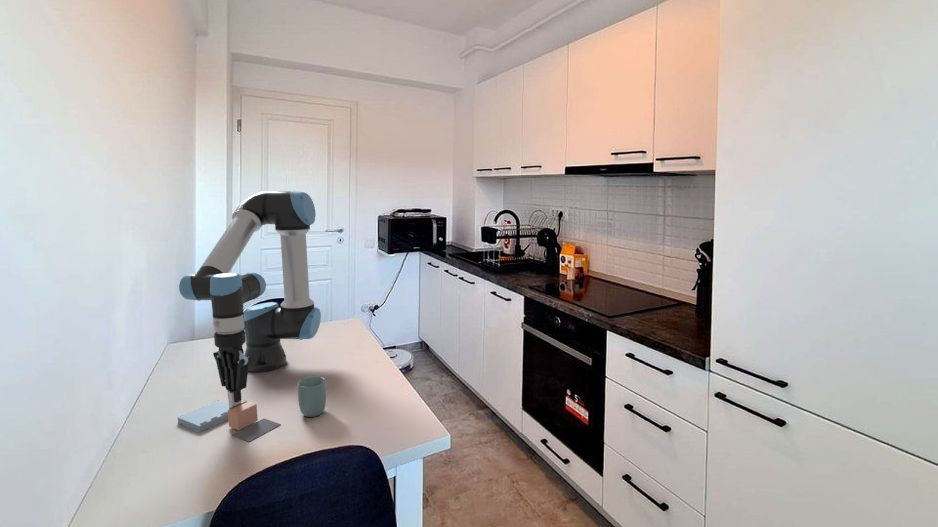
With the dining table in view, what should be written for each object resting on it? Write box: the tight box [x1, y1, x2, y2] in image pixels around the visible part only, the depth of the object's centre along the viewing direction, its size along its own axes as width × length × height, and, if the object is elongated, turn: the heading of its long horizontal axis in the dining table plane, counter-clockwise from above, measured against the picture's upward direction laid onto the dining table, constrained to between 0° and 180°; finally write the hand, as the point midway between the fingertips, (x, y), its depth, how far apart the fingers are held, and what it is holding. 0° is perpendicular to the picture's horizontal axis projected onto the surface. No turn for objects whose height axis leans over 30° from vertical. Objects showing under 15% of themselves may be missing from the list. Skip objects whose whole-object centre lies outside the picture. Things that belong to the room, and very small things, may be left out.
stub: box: [227, 400, 259, 431], centre depth 125 cm, size 4×6×5 cm, turn 153°
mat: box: [231, 418, 281, 443], centre depth 123 cm, size 7×10×1 cm
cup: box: [296, 375, 327, 418], centre depth 131 cm, size 8×8×10 cm
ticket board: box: [177, 400, 229, 433], centre depth 129 cm, size 10×12×2 cm
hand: (235, 411), depth 126 cm, fingers closed
